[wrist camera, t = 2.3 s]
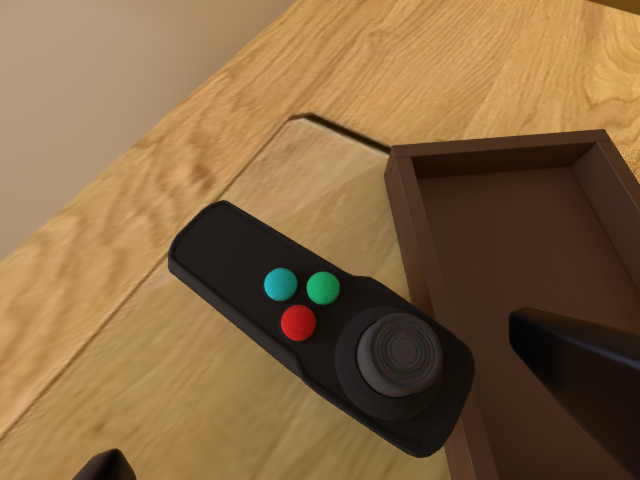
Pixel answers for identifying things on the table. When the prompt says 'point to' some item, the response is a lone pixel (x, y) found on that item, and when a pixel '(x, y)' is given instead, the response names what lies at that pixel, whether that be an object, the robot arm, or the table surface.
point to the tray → (518, 279)
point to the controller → (329, 327)
